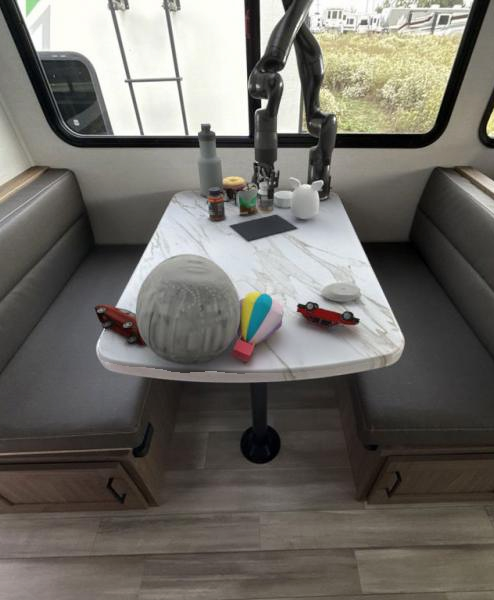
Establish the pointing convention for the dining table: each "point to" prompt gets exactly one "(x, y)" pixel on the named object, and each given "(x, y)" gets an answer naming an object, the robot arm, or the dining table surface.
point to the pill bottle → (264, 199)
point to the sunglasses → (229, 195)
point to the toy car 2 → (325, 315)
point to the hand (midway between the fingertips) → (265, 196)
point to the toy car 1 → (120, 322)
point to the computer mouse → (341, 292)
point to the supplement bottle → (216, 204)
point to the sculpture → (187, 309)
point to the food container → (248, 199)
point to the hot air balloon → (256, 322)
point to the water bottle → (209, 161)
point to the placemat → (262, 227)
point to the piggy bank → (305, 198)
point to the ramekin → (283, 199)
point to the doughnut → (233, 183)
